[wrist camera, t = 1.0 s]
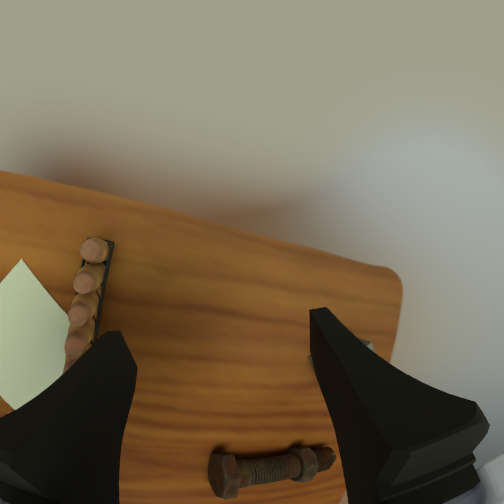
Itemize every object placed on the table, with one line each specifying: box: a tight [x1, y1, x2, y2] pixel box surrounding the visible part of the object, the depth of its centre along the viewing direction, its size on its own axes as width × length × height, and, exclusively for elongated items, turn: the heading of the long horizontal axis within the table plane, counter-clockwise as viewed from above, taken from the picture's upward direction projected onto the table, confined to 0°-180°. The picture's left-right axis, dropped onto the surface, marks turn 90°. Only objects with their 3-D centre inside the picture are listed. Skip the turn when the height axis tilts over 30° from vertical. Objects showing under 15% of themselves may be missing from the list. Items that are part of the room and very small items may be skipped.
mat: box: [0, 259, 70, 410], centre depth 21 cm, size 12×14×1 cm
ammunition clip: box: [62, 237, 114, 374], centre depth 18 cm, size 11×2×12 cm, turn 166°
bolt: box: [208, 447, 336, 499], centre depth 29 cm, size 6×5×15 cm
